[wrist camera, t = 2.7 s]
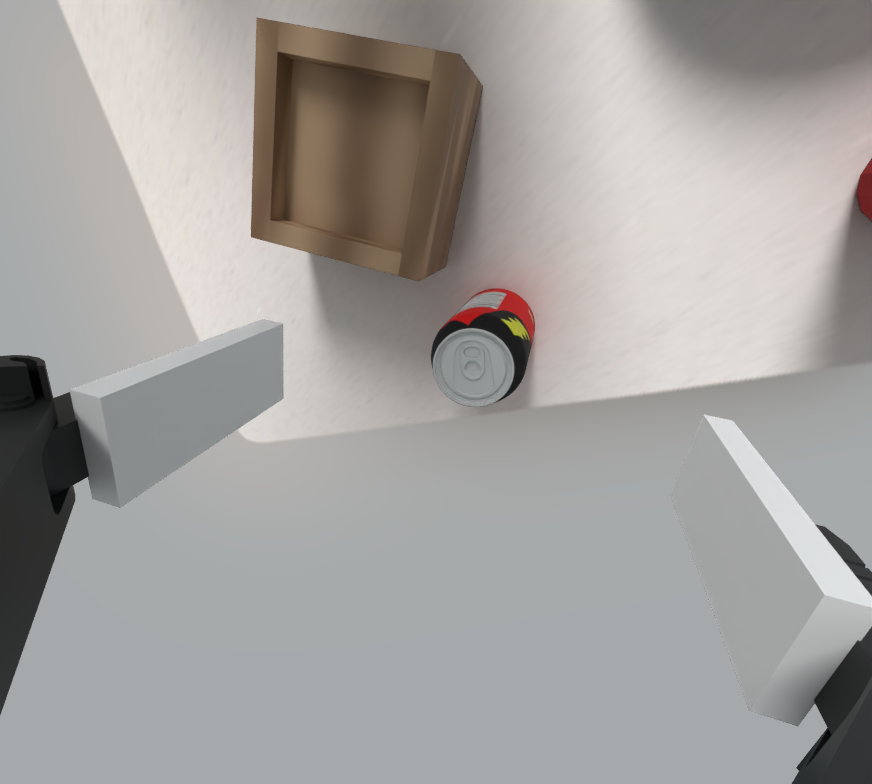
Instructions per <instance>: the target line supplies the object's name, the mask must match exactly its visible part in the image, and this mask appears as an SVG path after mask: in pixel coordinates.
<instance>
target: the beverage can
mask: <svg viewBox="0 0 872 784" xmlns="http://www.w3.org/2000/svg"><path fill="white" fill-rule="evenodd" d="M534 331H535V321H534V317H533V313H532V311H531V309H530V307H529V306H528V304H527V303H526V302H525V301H524V300H523V299H522V298H521V297H520V296H518V295H517V294H515V293H513V292H511V291H508V290H504V289H488V290H485V291H482V292H480V293H478V294H476V295H475V296H473V297H472V298H471V299H470V300H469V301H468V302H467V303H466V304H465V305H464V306H463V307H462V308H461V309H460V310H459V311H458V312H457V313H456V314H455V315H454V316H453V317H452V318H451V319H450V320H449V321H448V322H447V323H446V324H445V325H444V326H443V327H442V328H441V329H440V331H439V332H438V334H437V336H436V337H435V340H434V342H433V346H432V352H431V362H432V368H433V373H434V377H435V380H436V382H437V384H438V386H439V387H440V389H441V390H442V391H443V393H444V394H445V395H446V396H448V397H449V398H450V399H452V400H453V401H455V402H457V403H459V404H462V405H465V406H470V407H482V406H487V405H490V404H492V403H495V402H498V401H500V400H502V399H504V398H506V397H507V396H509V395H510V394H511V393H512V392H513V391H514V390H515V389H516V388H517V387H518V386H519V384H520V383H521V381H522V379H523V376H524V374H525V370H526V366H527V362H528V357H529V353H530V349H531V345H532V341H533V336H534Z"/></svg>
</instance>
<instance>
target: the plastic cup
mask: <svg viewBox="0 0 872 784" xmlns="http://www.w3.org/2000/svg"><path fill="white" fill-rule="evenodd" d="M857 198H858V202H859V206H860V210H861V211H862V212H863V213H864V214H865V215H866V216H867V217H868V218H869V219H870V220H871V221H872V159H871V160H870V162H869V163H868V165H867V166H866V168H865V169H864V171H863V172H862V174H861V176H860V181H859V185H858V189H857Z"/></svg>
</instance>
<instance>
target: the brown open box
mask: <svg viewBox="0 0 872 784" xmlns="http://www.w3.org/2000/svg"><path fill="white" fill-rule="evenodd" d="M482 88H483V86H482V85H481V83H480V82H479V80H478V79H477V77H476V76H475V75H474V73H473V72H472V70H471V69H470V67H469V66H468V65H467V63H466V62H465V60H464V59H463V57H462V56H461V55H460V54H455V53H449V52H443V51H438V50H432V49H427V48H421V47H416V46H410V45H405V44H399V43H394V42H388V41H383V40H377V39H372V38H366V37H361V36H355V35H350V34H344V33H339V32H333V31H328V30H322V29H317V28H311V27H305V26H300V25H294V24H289V23H283V22H278V21H272V20H267V19H261V18H257V28H256V66H255V103H254V141H253V178H252V216H251V237H253V238H256V239H260V240H264V241H268V242H272V243H275V244H279V245H283V246H287V247H291V248H294V249H298V250H302V251H306V252H309V253H313V254H317V255H321V256H325V257H328V258H332V259H336V260H340V261H344V262H347V263H351V264H355V265H359V266H363V267H366V268H370V269H374V270H378V271H382V272H385V273H389V274H393V275H397V276H401V277H404V278H408V279H412V280H416V281H420V280H422V279H424V278H426V277H428V276H429V275H431V274H433V273H435V272H437V271H439V270H441V269H443V268H445V266H446V261H447V256H448V252H449V247H450V242H451V237H452V232H453V227H454V223H455V218H456V213H457V208H458V203H459V198H460V194H461V189H462V184H463V179H464V174H465V170H466V165H467V160H468V155H469V150H470V145H471V141H472V136H473V131H474V126H475V121H476V117H477V112H478V107H479V102H480V97H481V92H482Z"/></svg>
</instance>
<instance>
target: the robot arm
mask: <svg viewBox="0 0 872 784" xmlns="http://www.w3.org/2000/svg"><path fill="white" fill-rule="evenodd" d="M282 399H283V324H282V323H277V322H273V321H268V320H263V319H262V320H260V321H257V322H254V323H251V324H249V325H246V326H243V327H240V328H238V329H235V330H232V331H229V332H227V333H224V334H221V335H218V336H216V337H213V338H210V339H207V340H205V341H202V342H199V343H196V344H194V345H191V346H188V347H185V348H183V349H180V350H177V351H175V352H172V353H169V354H166V355H163V356H161V357H158V358H155V359H153V360H150V361H147V362H144V363H141V364H139V365H136V366H133V367H131V368H128V369H125V370H122V371H119V372H117V373H114V374H111V375H108V376H106V377H103V378H100V379H97V380H95V381H92V382H89V383H86V384H84V385H81V386H78V387H76V388H73V389H70V392H69V393H66V394H63V395H61V396H58V397H55V398H53V395H52V391H51V386H50V382H49V378H48V373H47V369H46V365H45V361H44V360H42V359H40V358H38V357H32V356H22V355H21V356H20V355H10V356H0V714H1V711H2V709H3V706H4V703H5V700H6V697H7V694H8V691H9V688H10V686H11V683H12V680H13V677H14V674H15V671H16V668H17V666H18V663H19V660H20V657H21V654H22V651H23V648H24V645H25V642H26V640H27V637H28V634H29V631H30V628H31V625H32V622H33V620H34V617H35V614H36V611H37V608H38V605H39V602H40V600H41V597H42V594H43V591H44V588H45V585H46V582H47V579H48V576H49V574H50V571H51V568H52V565H53V562H54V560H55V556H56V554H57V551H58V548H59V545H60V542H61V540H62V536H63V534H64V531H65V528H66V525H67V522H68V519H69V517H70V514H71V511H72V508H73V505H74V502H75V492H74V487H73V485H74V484H76V483H77V482H79V481H81V480H83V479H85V478H86V477H88V480H89V484H90V489H91V493H92V498H93V499H95V500H98V501H101V502H104V503H107V504H110V505H113V506H116V507H119V508H120V507H122V506H124V505H125V504H127V503H128V502H130V501H131V500H133V499H134V498H135V497H137V496H138V495H140V494H141V493H143V492H144V491H146V490H147V489H149V488H150V487H152V486H153V485H155V484H156V483H158V482H159V481H161V480H162V479H164V478H165V477H167V476H168V475H170V474H171V473H173V472H174V471H176V470H177V469H179V468H180V467H182V466H183V465H185V464H186V463H188V462H189V461H190V460H192V459H194V458H195V457H197V456H198V455H200V454H201V453H203V452H204V451H206V450H207V449H209V448H210V447H211V446H213V445H215V444H216V443H218V442H219V441H220V440H222V439H223V438H225V437H226V436H228V435H229V434H231V433H232V432H234V431H235V430H237V429H238V428H240V427H241V426H243V425H244V424H246V423H247V422H249V421H250V420H252V419H253V418H255V417H256V416H258V415H259V414H261V413H262V412H264V411H265V410H267V409H268V408H270V407H271V406H273V405H274V404H276V403H277V402H279V401H280V400H282ZM670 496H671V499H672V501H673V504H674V507H675V510H676V512H677V515H678V518H679V521H680V523H681V526H682V528H683V532H684V534H685V537H686V540H687V542H688V545H689V548H690V550H691V553H692V556H693V559H694V562H695V564H696V567H697V570H698V573H699V575H700V578H701V581H702V583H703V586H704V589H705V592H706V594H707V597H708V600H709V602H710V605H711V608H712V611H713V613H714V616H715V619H716V622H717V624H718V627H719V630H720V633H721V635H722V638H723V641H724V643H725V646H726V649H727V652H728V654H729V657H730V660H731V662H732V665H733V668H734V671H735V674H736V676H737V679H738V682H739V684H740V687H741V690H742V692H743V695H744V698H745V701H746V703H747V706H748V709H749V711H752V712H755V713H758V714H761V715H764V716H767V717H771V718H774V719H777V720H780V721H783V722H786V723H789V724H792V725H795V726H798V725H799V724H800V723H801V721H802V720H803V719H804V717H805V716H806V714H807V713H808V712H809V711H810V709H811V708H812V706H813V705H814V704H816V706H817V707H818V709H819V711H820V713H821V715H822V717H823V719H824V721H825V723H826V725H827V727H828V728H827V729H826V731H825V732H824V733H823V734H822V736H821V737H820V738H819V739H818V741H817V742H816V743H815V745H814V746H813V747H812V748H811V750H810V751H809V752H808V753H807V755H806V756H805V757H804V759H803V760H802V761H801V762H800V764H799V765H798V766H797V769H798V770H799V772H798V774H797V776H796V777H795V779H794V781H793V782H792V784H872V572H871V571H870V570H869V569H868V568H865V564H864V563H863V561H862V560H861V559H860V558H859V557H858V555H857V554H856V553H855V552H854V551H853V550H852V548H851V547H850V546H849V545H848V544H846V543H845V542H844V541H843V540H841V539H840V538H839V537H837V536H836V535H835V534H833V533H832V532H831V531H829V530H828V529H827V528H825V527H823V526H819V525H815V524H814V523H813V521H812V520H811V519H810V518H809V516H808V515H807V514H806V513H805V512H804V510H803V509H802V508H801V507H800V505H799V504H798V503H797V501H796V500H795V499H794V497H793V496H792V495H791V494H790V492H789V491H788V490H787V489H786V488H785V486H784V485H783V484H782V482H781V481H780V480H779V479H778V477H777V476H776V475H775V473H773V471H772V470H771V469H770V467H769V466H768V465H767V463H766V462H765V461H764V460H763V458H762V457H761V456H760V454H759V453H758V452H757V451H756V449H755V448H754V447H753V446H752V445H751V444H750V442H749V441H748V439H747V438H746V437H745V436H744V434H743V433H742V432H741V430H740V429H739V428H738V427H737V426H736V424H735V423H734V422H733V421H731V420H726V419H722V418H716V417H712V416H708V415H703V417H702V419H701V422H700V424H699V427H698V429H697V432H696V434H695V436H694V438H693V441H692V443H691V446H690V448H689V451H688V453H687V455H686V458H685V460H684V463H683V465H682V467H681V470H680V472H679V475H678V477H677V480H676V482H675V484H674V487H673V489H672V492H671V494H670Z"/></svg>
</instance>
